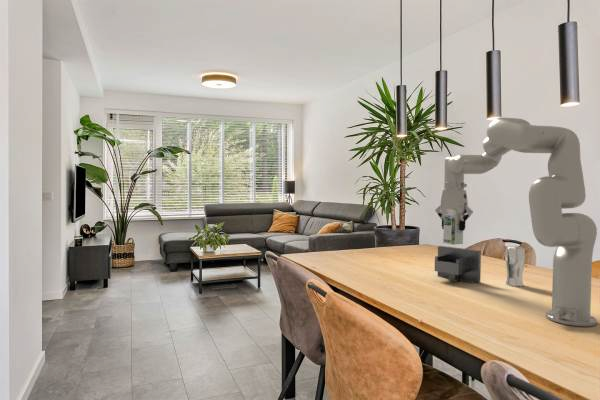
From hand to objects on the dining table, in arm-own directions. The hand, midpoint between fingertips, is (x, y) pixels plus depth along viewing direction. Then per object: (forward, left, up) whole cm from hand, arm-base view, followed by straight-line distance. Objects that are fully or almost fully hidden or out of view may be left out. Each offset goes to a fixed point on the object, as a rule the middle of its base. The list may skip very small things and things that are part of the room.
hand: (453, 229), depth 171 cm
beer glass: (+12, -20, -22) cm, 32 cm away
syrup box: (0, 0, -6) cm, 6 cm away
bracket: (0, 0, -21) cm, 21 cm away
